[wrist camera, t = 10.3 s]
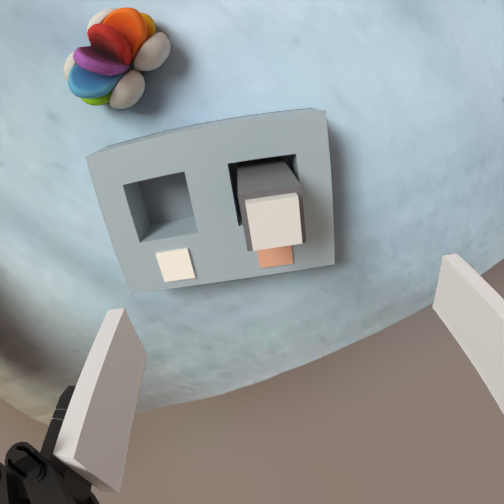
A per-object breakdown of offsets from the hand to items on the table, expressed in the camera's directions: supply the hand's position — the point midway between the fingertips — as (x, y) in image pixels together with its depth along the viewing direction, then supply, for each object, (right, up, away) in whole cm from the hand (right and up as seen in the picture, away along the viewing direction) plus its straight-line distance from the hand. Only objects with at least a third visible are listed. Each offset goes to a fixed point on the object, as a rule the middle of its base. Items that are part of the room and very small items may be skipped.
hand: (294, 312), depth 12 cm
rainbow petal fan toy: (-14, +21, +12) cm, 27 cm away
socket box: (-5, +8, +19) cm, 21 cm away
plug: (-1, +9, +17) cm, 19 cm away
